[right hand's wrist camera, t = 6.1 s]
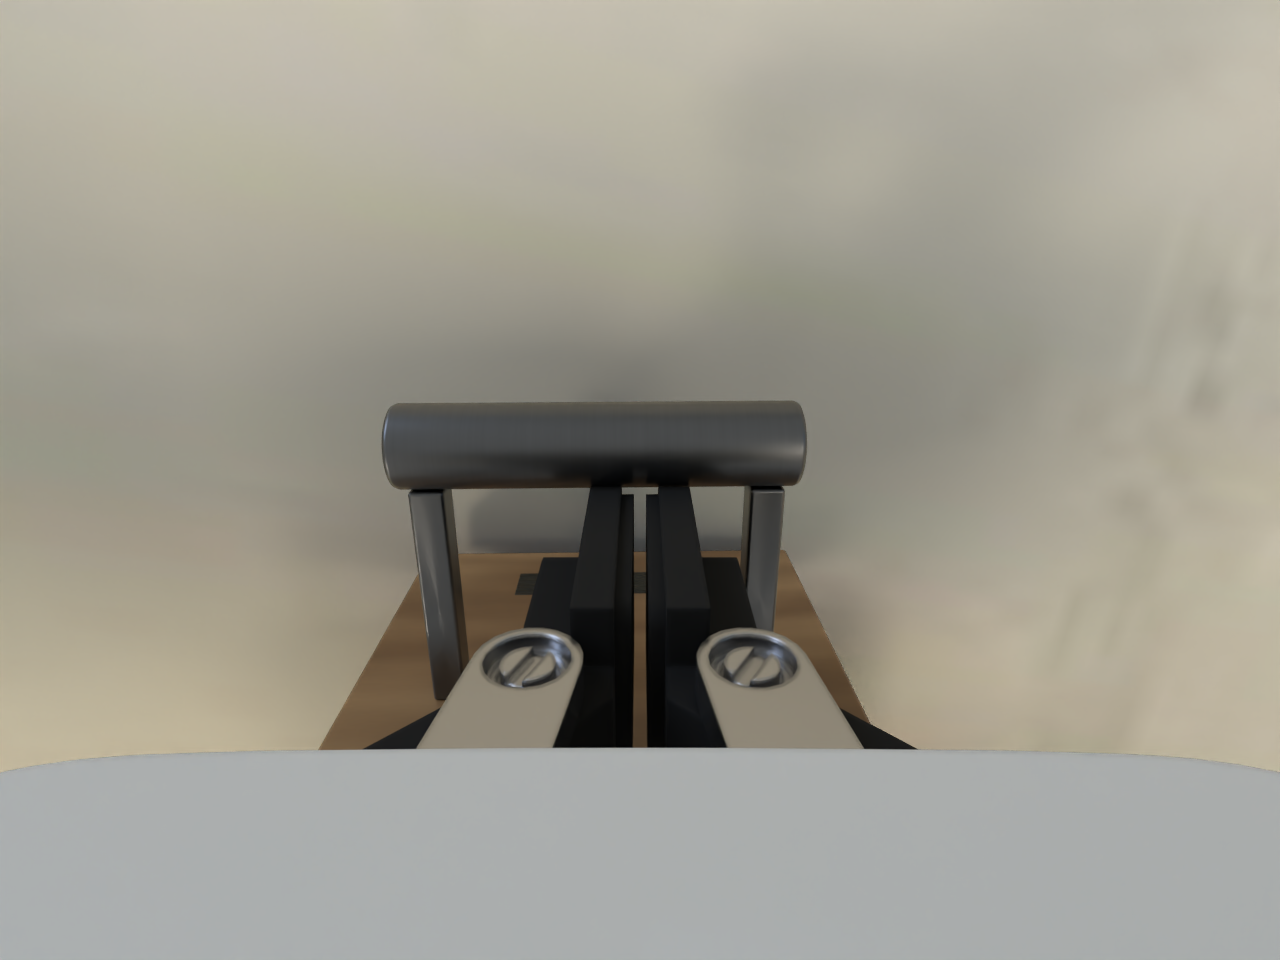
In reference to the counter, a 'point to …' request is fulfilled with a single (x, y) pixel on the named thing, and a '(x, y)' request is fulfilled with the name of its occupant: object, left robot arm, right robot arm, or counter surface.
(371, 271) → the counter surface
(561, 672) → the right robot arm
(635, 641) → the drawer
